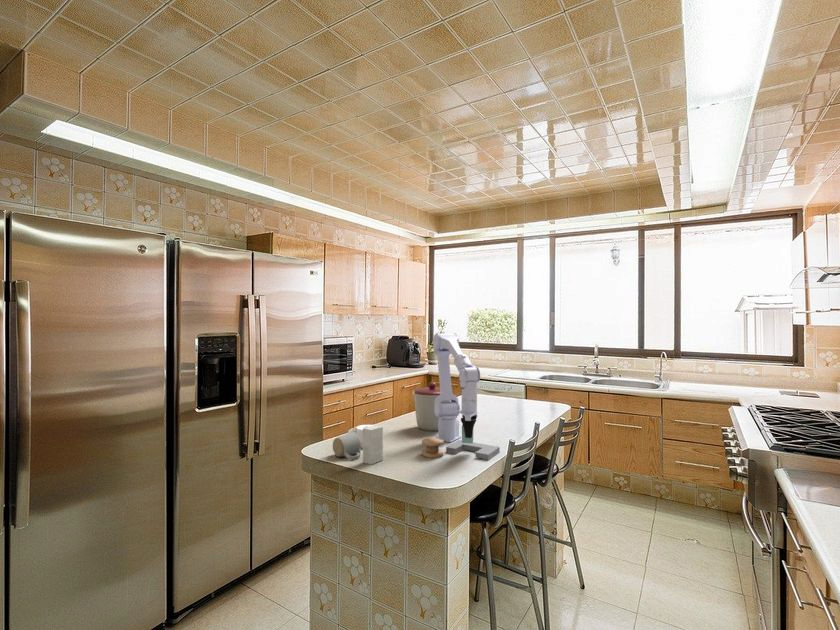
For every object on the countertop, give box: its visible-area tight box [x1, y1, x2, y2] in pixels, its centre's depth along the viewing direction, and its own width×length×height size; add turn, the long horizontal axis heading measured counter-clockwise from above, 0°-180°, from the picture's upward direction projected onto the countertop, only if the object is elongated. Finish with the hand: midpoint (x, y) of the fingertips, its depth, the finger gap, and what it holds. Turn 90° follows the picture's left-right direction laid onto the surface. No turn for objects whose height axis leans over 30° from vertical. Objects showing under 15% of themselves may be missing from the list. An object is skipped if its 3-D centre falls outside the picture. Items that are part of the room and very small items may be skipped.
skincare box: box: [362, 424, 384, 465], centre depth 152 cm, size 6×4×12 cm
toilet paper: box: [347, 424, 374, 448], centre depth 171 cm, size 8×11×7 cm
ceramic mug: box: [332, 432, 362, 461], centre depth 158 cm, size 11×8×8 cm
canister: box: [412, 381, 450, 432], centre depth 198 cm, size 18×18×21 cm
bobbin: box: [421, 437, 445, 459], centre depth 160 cm, size 8×8×5 cm
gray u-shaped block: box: [445, 439, 501, 461], centre depth 163 cm, size 11×17×2 cm, turn 59°
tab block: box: [461, 424, 474, 443], centre depth 161 cm, size 4×4×6 cm
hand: (469, 436), depth 161 cm, fingers closed on tab block, 4 cm apart
